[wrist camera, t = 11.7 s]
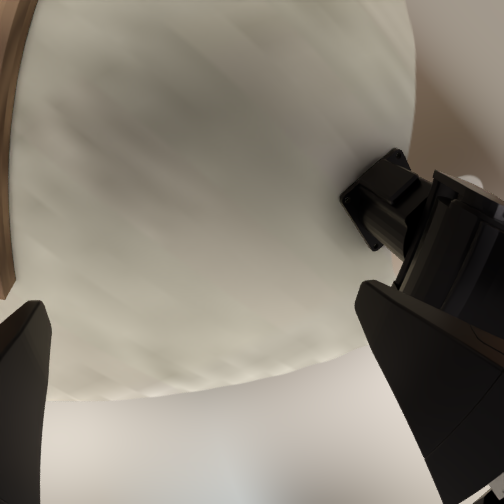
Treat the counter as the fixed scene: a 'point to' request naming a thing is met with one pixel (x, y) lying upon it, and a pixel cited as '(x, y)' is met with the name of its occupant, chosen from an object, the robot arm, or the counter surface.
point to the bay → (9, 115)
